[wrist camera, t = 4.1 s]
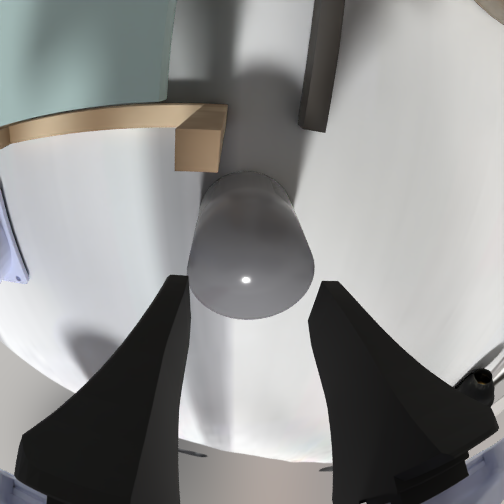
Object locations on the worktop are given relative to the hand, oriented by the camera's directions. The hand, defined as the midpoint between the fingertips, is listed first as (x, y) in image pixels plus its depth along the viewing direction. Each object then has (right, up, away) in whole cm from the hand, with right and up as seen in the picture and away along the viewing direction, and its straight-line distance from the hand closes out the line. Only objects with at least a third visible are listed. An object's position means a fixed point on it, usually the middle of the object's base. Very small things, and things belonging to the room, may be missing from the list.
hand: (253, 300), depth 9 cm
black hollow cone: (+39, -25, +28) cm, 54 cm away
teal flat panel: (-8, +10, -6) cm, 14 cm away
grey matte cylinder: (0, +4, +5) cm, 6 cm away
